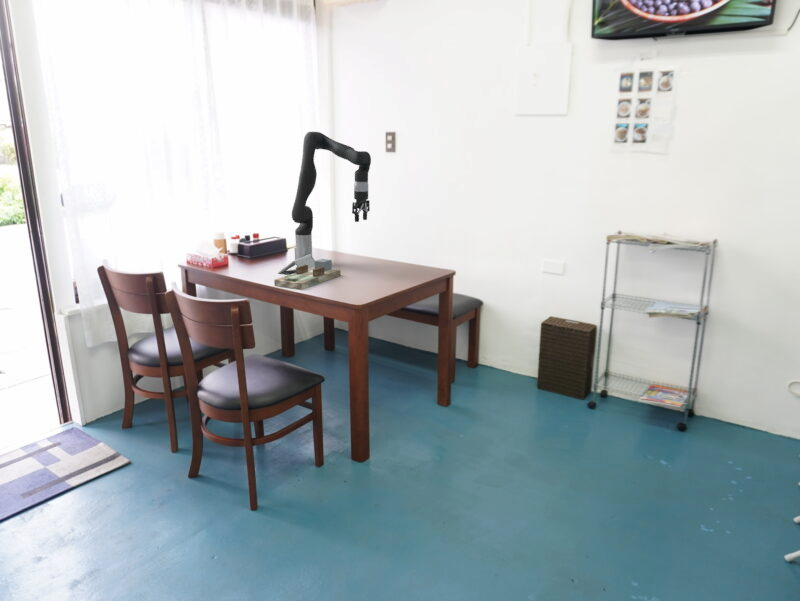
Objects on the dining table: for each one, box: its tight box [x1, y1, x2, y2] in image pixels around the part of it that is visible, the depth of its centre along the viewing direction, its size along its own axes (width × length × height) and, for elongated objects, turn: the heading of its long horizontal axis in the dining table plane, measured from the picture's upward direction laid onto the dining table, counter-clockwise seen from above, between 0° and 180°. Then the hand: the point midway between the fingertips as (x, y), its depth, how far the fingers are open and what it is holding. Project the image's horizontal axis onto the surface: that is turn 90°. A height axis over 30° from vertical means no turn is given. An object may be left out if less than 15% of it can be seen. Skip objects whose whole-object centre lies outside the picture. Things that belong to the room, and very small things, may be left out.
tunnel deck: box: [273, 265, 342, 290], centre depth 291 cm, size 16×35×6 cm, turn 153°
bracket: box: [277, 254, 316, 275], centre depth 313 cm, size 13×10×20 cm
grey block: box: [315, 258, 333, 271], centre depth 302 cm, size 6×7×5 cm
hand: (360, 220), depth 305 cm, fingers open, 8 cm apart
